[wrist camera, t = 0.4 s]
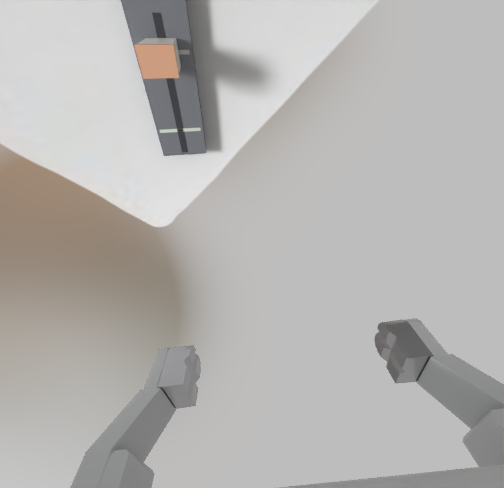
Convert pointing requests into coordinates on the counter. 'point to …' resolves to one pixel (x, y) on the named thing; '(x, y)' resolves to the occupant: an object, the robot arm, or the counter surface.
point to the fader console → (170, 89)
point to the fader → (158, 58)
